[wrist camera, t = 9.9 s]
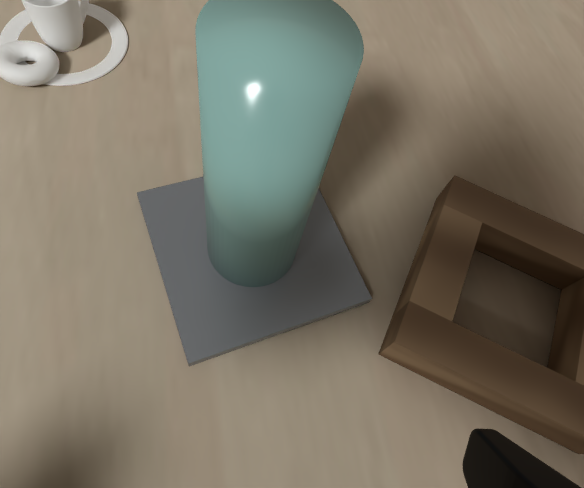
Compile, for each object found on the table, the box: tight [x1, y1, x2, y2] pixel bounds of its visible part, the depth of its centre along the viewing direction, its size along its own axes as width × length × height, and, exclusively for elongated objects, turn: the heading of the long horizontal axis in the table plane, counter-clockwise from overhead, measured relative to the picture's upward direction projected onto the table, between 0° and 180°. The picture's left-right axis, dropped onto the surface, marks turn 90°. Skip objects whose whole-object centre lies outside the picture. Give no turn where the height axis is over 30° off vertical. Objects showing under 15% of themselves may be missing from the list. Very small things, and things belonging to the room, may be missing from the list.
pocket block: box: [379, 176, 584, 454], centre depth 25 cm, size 11×11×2 cm
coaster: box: [137, 177, 372, 366], centre depth 25 cm, size 10×10×1 cm
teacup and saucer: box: [0, 0, 128, 86], centre depth 29 cm, size 9×8×4 cm
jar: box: [196, 0, 364, 287], centre depth 19 cm, size 5×5×14 cm
